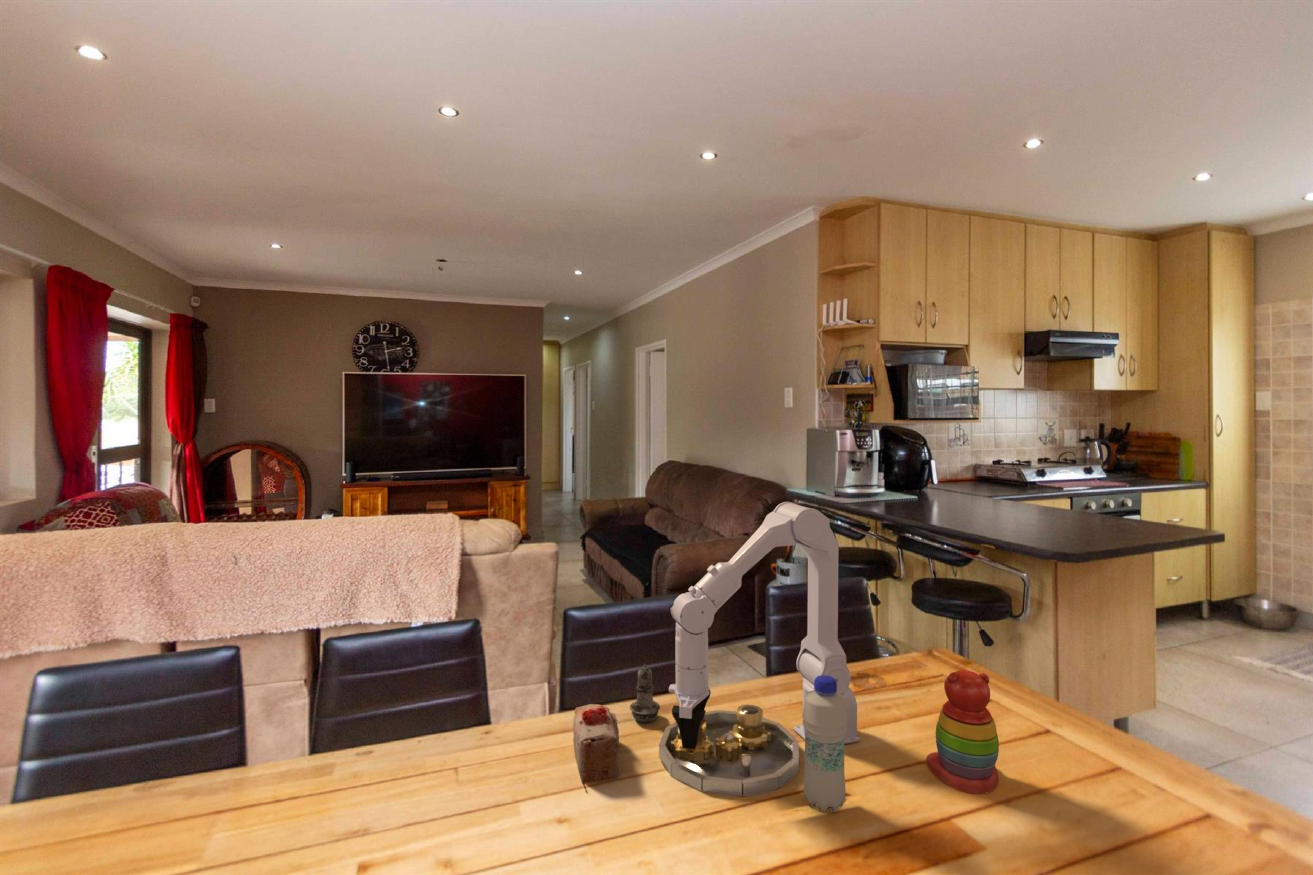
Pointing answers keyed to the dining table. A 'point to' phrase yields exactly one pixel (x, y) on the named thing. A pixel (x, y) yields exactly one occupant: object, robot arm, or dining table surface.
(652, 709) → the grey chess piece
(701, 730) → the planet gear
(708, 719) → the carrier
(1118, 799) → the dining table surface
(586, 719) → the food item
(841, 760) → the bottle
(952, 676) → the stacking bear
